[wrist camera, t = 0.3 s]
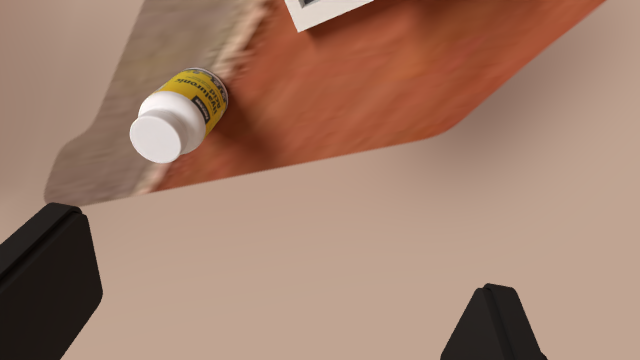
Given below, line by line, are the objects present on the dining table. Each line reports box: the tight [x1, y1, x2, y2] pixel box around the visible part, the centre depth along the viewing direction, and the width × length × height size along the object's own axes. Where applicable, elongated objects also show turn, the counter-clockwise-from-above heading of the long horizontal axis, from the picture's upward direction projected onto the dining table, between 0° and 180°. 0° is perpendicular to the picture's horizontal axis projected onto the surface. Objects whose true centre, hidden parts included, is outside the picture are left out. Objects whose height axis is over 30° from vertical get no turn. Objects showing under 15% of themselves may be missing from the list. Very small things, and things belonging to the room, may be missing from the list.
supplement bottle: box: [130, 68, 228, 163], centre depth 34 cm, size 5×5×10 cm
